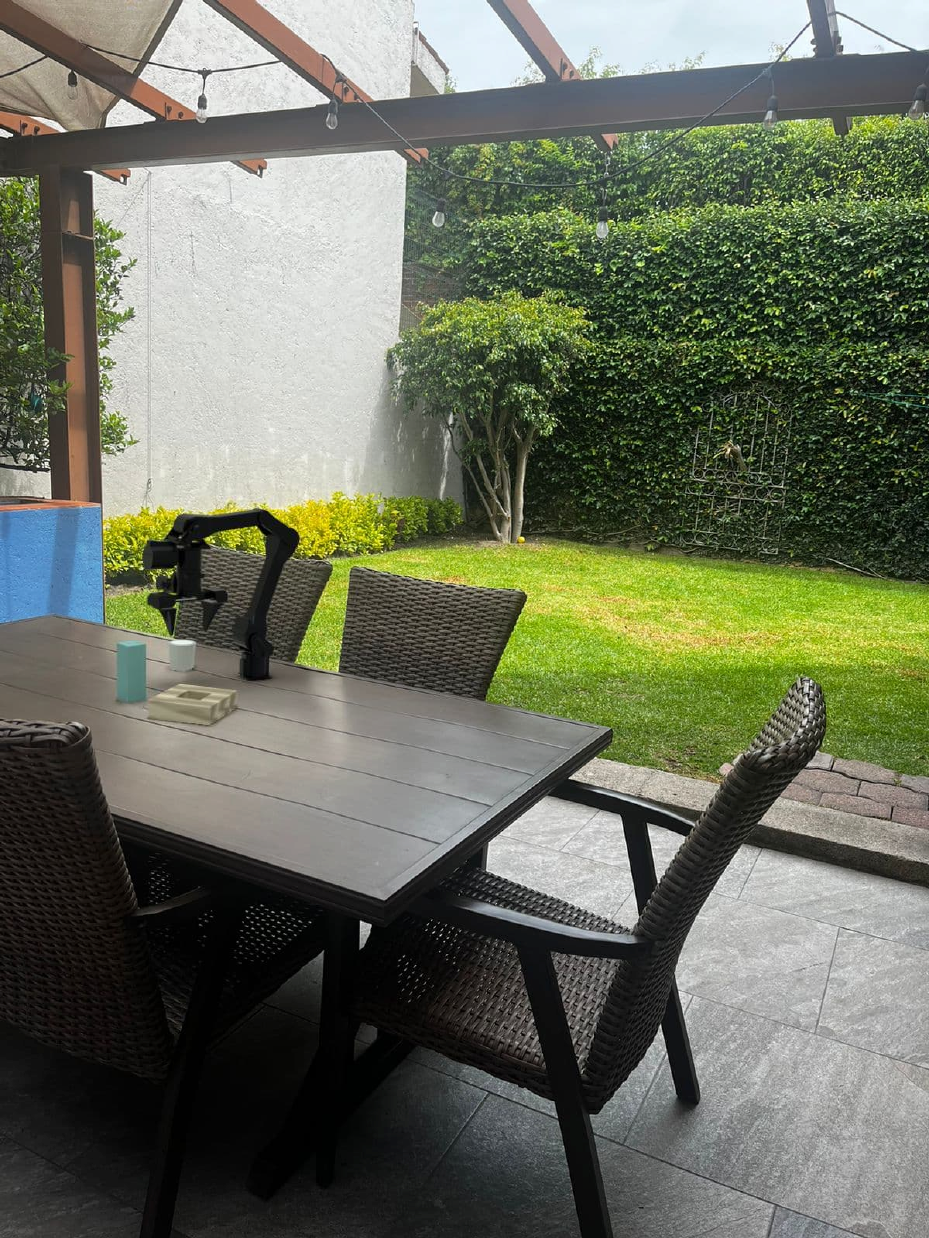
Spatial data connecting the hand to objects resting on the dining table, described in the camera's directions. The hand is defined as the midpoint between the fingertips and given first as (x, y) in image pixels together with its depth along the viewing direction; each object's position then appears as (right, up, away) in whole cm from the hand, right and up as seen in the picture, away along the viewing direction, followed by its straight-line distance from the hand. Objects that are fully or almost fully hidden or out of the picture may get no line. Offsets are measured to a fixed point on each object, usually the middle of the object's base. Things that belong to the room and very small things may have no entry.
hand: (188, 633), depth 218 cm
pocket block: (+6, -17, -18) cm, 25 cm away
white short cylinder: (-7, -10, +18) cm, 21 cm away
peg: (-10, -15, -11) cm, 21 cm away
